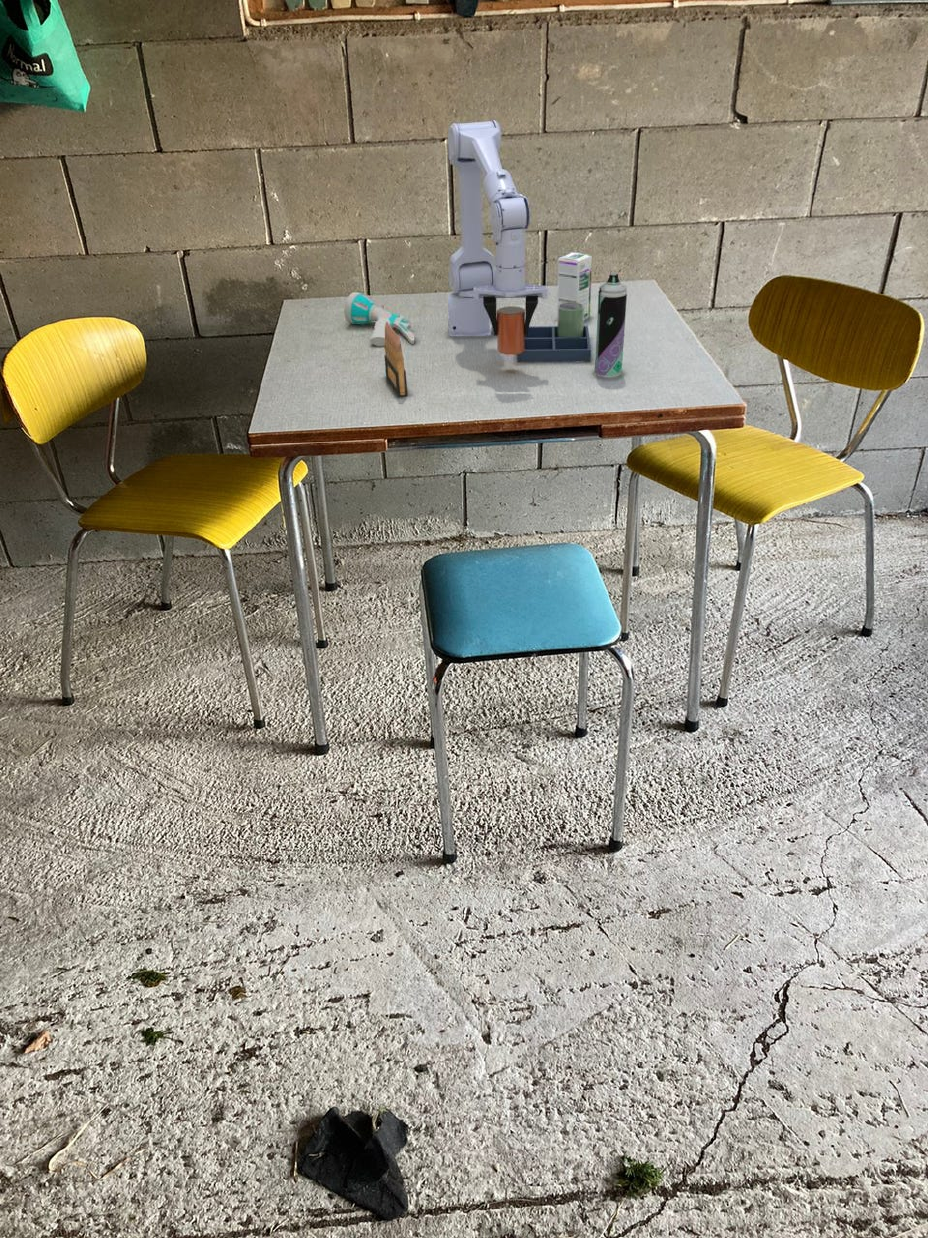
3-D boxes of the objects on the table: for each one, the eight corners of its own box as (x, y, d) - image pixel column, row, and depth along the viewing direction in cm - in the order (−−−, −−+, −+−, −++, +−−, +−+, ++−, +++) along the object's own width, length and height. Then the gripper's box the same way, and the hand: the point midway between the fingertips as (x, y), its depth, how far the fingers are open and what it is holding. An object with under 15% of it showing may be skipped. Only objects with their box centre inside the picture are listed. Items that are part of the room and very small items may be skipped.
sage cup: (557, 347, 205) (558, 310, 201) (556, 338, 210) (557, 301, 205) (583, 346, 205) (584, 309, 200) (582, 338, 209) (583, 301, 205)
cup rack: (517, 364, 199) (517, 350, 198) (518, 339, 212) (518, 326, 210) (590, 363, 198) (591, 349, 196) (587, 338, 211) (587, 325, 209)
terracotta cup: (496, 354, 190) (496, 314, 185) (497, 345, 195) (497, 305, 190) (524, 354, 190) (524, 314, 185) (524, 344, 194) (524, 305, 190)
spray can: (604, 381, 190) (610, 279, 178) (589, 372, 194) (593, 273, 182) (626, 375, 192) (633, 275, 180) (611, 367, 196) (617, 268, 184)
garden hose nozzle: (414, 328, 208) (420, 291, 223) (335, 323, 208) (346, 286, 223) (413, 358, 213) (419, 320, 228) (336, 353, 213) (347, 315, 227)
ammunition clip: (407, 395, 187) (403, 336, 180) (398, 397, 187) (394, 337, 180) (394, 377, 195) (390, 319, 188) (386, 378, 195) (381, 320, 188)
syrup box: (577, 324, 218) (580, 260, 210) (556, 320, 221) (557, 256, 213) (590, 318, 222) (593, 254, 214) (569, 314, 225) (571, 250, 217)
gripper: (471, 270, 180) (473, 340, 188) (548, 269, 179) (546, 340, 187) (473, 260, 185) (475, 329, 193) (547, 259, 184) (546, 328, 192)
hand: (510, 333), depth 190 cm, fingers closed on terracotta cup, 5 cm apart
